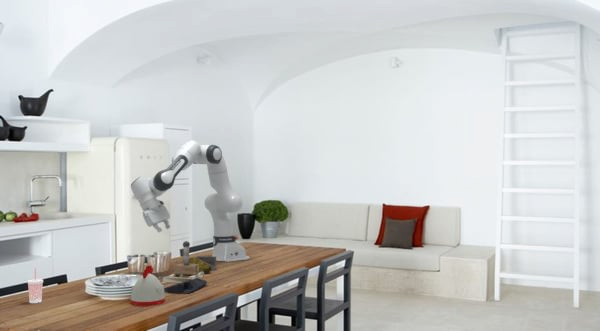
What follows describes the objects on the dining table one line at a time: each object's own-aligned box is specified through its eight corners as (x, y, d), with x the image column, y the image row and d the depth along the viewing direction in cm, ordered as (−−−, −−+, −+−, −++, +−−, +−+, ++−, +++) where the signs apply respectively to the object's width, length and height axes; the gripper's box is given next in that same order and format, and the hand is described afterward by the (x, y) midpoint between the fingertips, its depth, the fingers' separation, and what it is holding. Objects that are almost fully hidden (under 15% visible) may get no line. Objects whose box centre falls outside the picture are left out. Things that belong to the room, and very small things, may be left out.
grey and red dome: (170, 299, 262) (170, 263, 262) (155, 306, 248) (155, 269, 248) (140, 297, 265) (140, 262, 265) (124, 305, 252) (124, 268, 251)
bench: (195, 268, 335) (195, 255, 334) (219, 269, 331) (219, 256, 331) (163, 282, 297) (163, 267, 297) (190, 283, 294) (190, 269, 294)
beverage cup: (38, 299, 261) (38, 266, 261) (46, 301, 257) (46, 268, 257) (24, 302, 257) (24, 268, 256) (32, 304, 253) (31, 270, 253)
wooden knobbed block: (179, 275, 312) (179, 239, 311) (200, 276, 309) (199, 240, 309) (173, 277, 305) (173, 241, 304) (194, 278, 302) (194, 242, 302)
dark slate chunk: (212, 286, 290) (212, 276, 290) (187, 295, 270) (187, 285, 270) (184, 283, 296) (184, 274, 296) (157, 293, 276) (157, 282, 276)
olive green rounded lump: (202, 275, 315) (202, 259, 315) (184, 273, 322) (183, 257, 322) (213, 272, 322) (213, 257, 322) (194, 270, 329) (194, 255, 329)
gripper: (146, 206, 305) (160, 230, 305) (164, 200, 325) (177, 223, 325) (136, 212, 307) (150, 236, 306) (155, 206, 327) (168, 229, 326)
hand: (164, 230), depth 316 cm, fingers open, 8 cm apart
